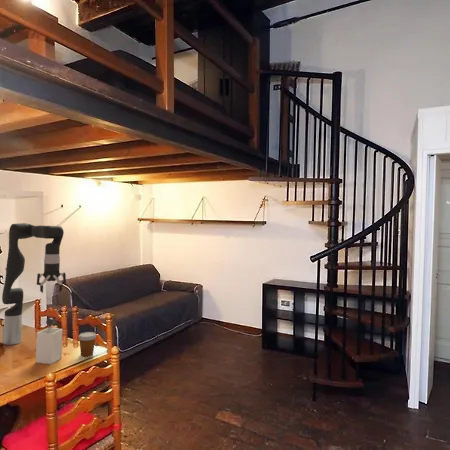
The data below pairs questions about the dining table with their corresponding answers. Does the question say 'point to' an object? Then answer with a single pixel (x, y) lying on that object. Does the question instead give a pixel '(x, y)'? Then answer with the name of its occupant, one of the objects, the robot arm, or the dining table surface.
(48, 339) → the grey rectangular box
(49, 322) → the plunger
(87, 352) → the disposable coffee cup
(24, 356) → the dining table surface
